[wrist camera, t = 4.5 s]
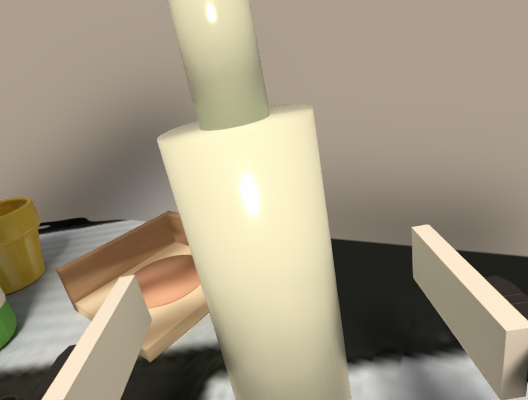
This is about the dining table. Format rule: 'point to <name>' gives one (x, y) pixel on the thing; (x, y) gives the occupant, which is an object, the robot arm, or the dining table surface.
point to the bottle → (254, 214)
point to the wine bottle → (6, 320)
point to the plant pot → (19, 244)
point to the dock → (143, 279)
